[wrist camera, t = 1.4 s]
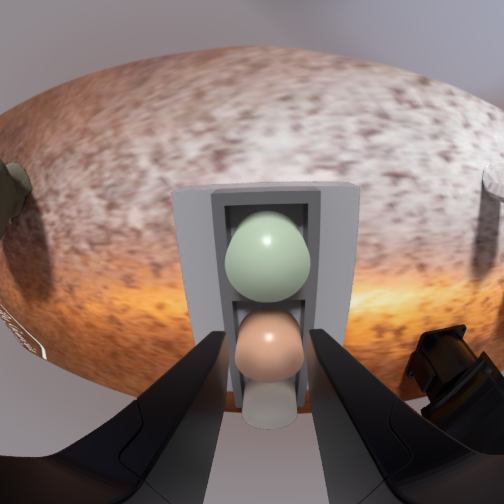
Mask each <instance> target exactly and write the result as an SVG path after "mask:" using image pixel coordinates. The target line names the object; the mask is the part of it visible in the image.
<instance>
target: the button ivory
mask: <svg viewBox="0 0 504 504" xmlns="http://www.w3.org/2000/svg"><path fill="white" fill-rule="evenodd" d="M242 418H243V420H244V421H245V422H246V423H247V424H248V425H250V426H252V427H255V428H259V429H267V430H269V429H279V428H283V427H286V426H288V425H290V424H291V423H293V422H294V421H295V420H296V418H297V404H296V393H295V385H294V383H293V382H292V381H291V380H290V379H289V378H288V379H285V380H282V381H279V382H270V383H269V382H259V381H255V380H252V379H250V380H249V381H248V382H247V383H246V385H245V388H244V398H243V408H242Z"/></svg>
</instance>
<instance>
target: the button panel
mask: <svg viewBox="0 0 504 504" xmlns="http://www.w3.org/2000/svg"><path fill="white" fill-rule="evenodd" d="M171 194H172V203H173V212H174V221H175V229H176V237H177V244H178V251H179V258H180V264H181V271H182V277H183V283H184V289H185V295H186V300H187V306H188V311H189V316H190V321H191V326H192V331H193V336H194V341H195V346H196V345H197V344H198V343H199V342H200V341H201V340H202V339H204V338H205V337H206V336H207V335H208V334H209V333H210V332H211V331H225V332H226V333H227V339H228V346H229V370H228V382H227V391H233V395H234V401H235V408H243V398H244V388H245V385H246V383H247V382H248V381H249V380H250V378H248V377H246V376H245V375H243V374H242V373H241V372H240V371H239V369H238V368H237V366H236V364H235V352H236V345H237V338H238V332H239V326H240V323H241V321H242V320H243V318H244V317H245V316H246V315H248V314H249V313H250V312H252V311H254V310H257V309H260V308H265V307H274V308H279V309H283V310H285V311H287V312H289V313H290V314H292V315H293V316H294V317H295V319H296V320H297V322H298V324H299V328H300V334H301V340H302V347H303V353H304V361H303V364H302V366H301V368H300V369H299V371H298V372H297V373H296V374H294V375H293V376H291V377H290V378H289V379H290V380H291V381H292V382H293V383H294V385H295V393H296V404H297V407H304V404H305V397H306V390H309V388H308V375H307V362H306V347H307V335H308V331H309V330H310V329H323V330H325V331H326V332H327V333H328V334H329V335H330V336H331V337H332V338H334V339H335V340H336V341H337V342H338V343H339V344H340V345H341V346H342V347H343V342H344V337H345V331H346V325H347V319H348V313H349V307H350V300H351V293H352V285H353V277H354V268H355V259H356V248H357V236H358V222H359V203H360V187H359V186H357V185H354V184H352V183H349V182H260V183H236V184H218V185H203V186H190V187H182V188H180V189H178V190H175V191H173V192H171ZM260 211H275V212H279V213H282V214H284V215H286V216H287V217H289V218H290V219H291V220H293V221H294V222H295V224H296V225H297V226H298V228H299V230H300V232H301V234H302V236H303V239H304V241H305V244H306V246H307V248H308V251H309V255H310V271H309V275H308V277H307V280H306V281H305V283H304V285H303V286H302V287H301V288H300V289H299V290H298V291H297V292H296V293H295V294H293V295H292V296H290V297H288V298H286V299H284V300H281V301H277V302H258V301H254V300H251V299H249V298H247V297H245V296H243V295H242V294H240V293H239V292H238V291H237V290H236V289H235V288H234V287H233V286H232V284H231V283H230V281H229V279H228V277H227V274H226V270H225V256H226V253H227V250H228V247H229V244H230V242H231V239H232V236H233V234H234V231H235V229H236V228H237V226H238V225H239V223H240V222H241V221H242V220H243V219H245V218H246V217H247V216H249V215H251V214H253V213H256V212H260Z"/></svg>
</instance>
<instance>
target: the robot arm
mask: <svg viewBox="0 0 504 504" xmlns="http://www.w3.org/2000/svg"><path fill="white" fill-rule="evenodd" d="M465 331H466V326H465V325H464V324H463V325H458V326H453V327H449V328H444V329H439V330H434V331H428V332H425V333H424V334H423V335H422V337H421V340H420V343H419V345H418V348H417V351H416V353H415V356H414V358H413V361H412V363H411V366H410V368H409V371H408V373H407V375H408V377H409V378H413V377H415V379H416V381H417V383H418V385H419V387H420V389H421V391H422V392H423V393H426V394H427V396H428V398H429V400H430V402H431V403H430V404H428V405H427V406H426V407H424V408H422V409H421V414H422V416H421V415H420V414H419V413H417V412H416V411H415V410H414V409H412V408H411V407H410V406H409V405H408V404H406V403H405V402H404V401H403V400H402V399H401V398H400V397H398V396H397V397H396V394H395V393H394V392H393V391H392V390H390V389H389V388H388V387H387V386H386V385H385V384H384V383H383V382H381V381H380V380H379V379H378V378H377V377H376V376H375V375H374V374H373V373H371V372H370V371H369V370H368V369H367V368H366V367H365V366H364V365H362V364H361V363H360V362H359V361H358V360H357V359H356V358H355V357H354V356H352V355H351V354H350V353H349V352H348V351H347V350H346V349H345V348H344V347H342V346H341V345H340V344H339V343H338V342H337V341H336V340H335V339H334V338H332V337H331V336H330V335H329V334H328V333H327V332H326V331H325V330H323V329H310V330H309V331H308V335H307V347H306V362H307V375H308V388H309V399H310V406H311V411H312V415H313V420H314V425H315V430H316V435H317V440H318V445H319V450H320V455H321V460H322V466H323V471H324V476H325V481H326V487H327V493H328V498H329V503H330V504H504V377H503V375H502V374H501V373H500V371H499V370H498V369H497V367H496V366H495V365H494V363H493V362H492V361H491V359H490V358H489V357H488V355H487V354H486V353H485V352H484V351H483V352H482V353H481V354H480V356H479V358H477V357H476V355H475V354H474V353H473V351H472V350H471V349H470V348H469V346H468V345H467V344H466V342H465V341H464V340H463V339H462V338H463V336H464V334H465ZM228 370H229V346H228V339H227V333H226V332H225V331H211V332H210V333H209V334H208V335H207V336H206V337H205V338H204V339H202V340H201V341H200V342H199V343H198V344H197V345H196V346H195V347H194V348H193V349H191V350H190V351H189V352H188V353H187V354H186V355H185V356H184V357H183V358H181V359H180V360H179V361H178V362H177V363H176V364H175V365H174V366H173V367H171V368H170V369H169V370H168V371H167V372H166V373H165V374H164V375H162V376H161V377H160V378H159V379H158V380H157V381H156V382H154V383H153V384H152V385H151V386H150V387H149V388H148V389H146V390H145V391H144V392H143V393H142V394H141V395H139V396H138V397H137V400H134V401H132V402H131V403H130V404H129V405H128V406H126V407H125V408H124V409H123V410H122V411H120V412H119V413H118V414H117V415H115V416H114V417H113V418H111V419H110V420H109V421H107V422H106V423H104V424H103V425H101V426H100V427H99V428H97V429H95V430H94V431H92V432H91V433H89V434H88V435H86V436H84V437H83V438H82V439H80V440H78V441H76V442H75V443H73V444H72V445H70V446H68V447H66V448H65V449H63V450H61V451H59V452H57V453H55V454H52V455H49V456H44V457H15V456H14V457H13V456H1V455H0V504H203V501H204V497H205V492H206V488H207V484H208V479H209V475H210V471H211V466H212V462H213V457H214V453H215V449H216V444H217V440H218V435H219V431H220V426H221V422H222V417H223V413H224V409H225V403H226V395H227V382H228ZM491 372H492V373H491Z"/></svg>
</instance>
